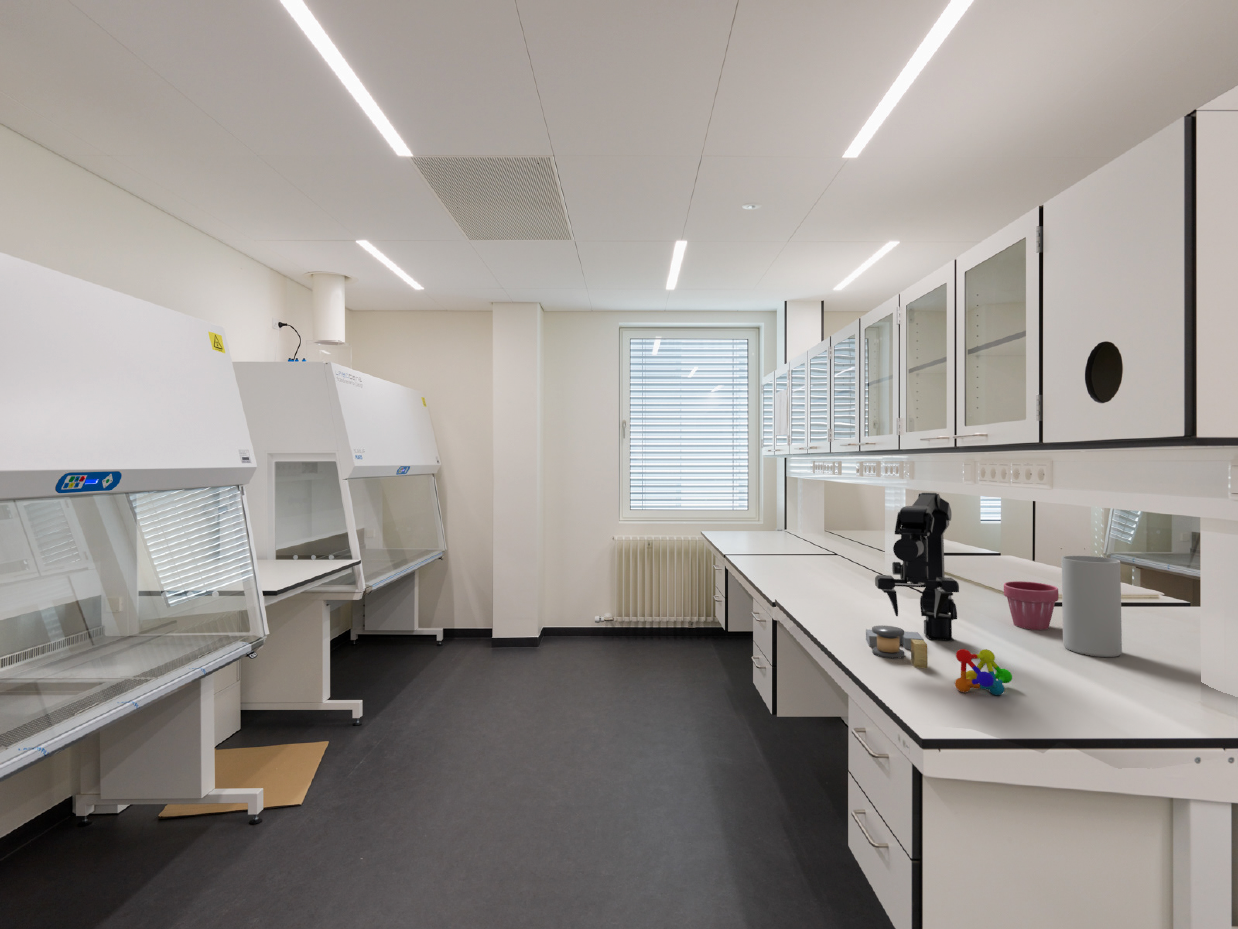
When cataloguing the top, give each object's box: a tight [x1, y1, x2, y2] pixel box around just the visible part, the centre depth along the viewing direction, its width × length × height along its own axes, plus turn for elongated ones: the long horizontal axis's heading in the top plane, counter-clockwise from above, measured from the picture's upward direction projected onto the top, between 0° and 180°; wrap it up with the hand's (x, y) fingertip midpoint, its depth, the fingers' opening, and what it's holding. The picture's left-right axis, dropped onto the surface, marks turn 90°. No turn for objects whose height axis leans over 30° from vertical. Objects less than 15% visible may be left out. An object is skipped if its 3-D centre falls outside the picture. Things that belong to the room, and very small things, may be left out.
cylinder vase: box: [1061, 555, 1123, 658], centre depth 160 cm, size 12×12×25 cm
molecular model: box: [954, 648, 1013, 696], centre depth 134 cm, size 11×10×15 cm
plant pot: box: [1003, 580, 1059, 631], centre depth 185 cm, size 14×14×13 cm
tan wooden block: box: [910, 639, 929, 669], centre depth 151 cm, size 3×4×6 cm
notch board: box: [865, 628, 925, 650], centre depth 168 cm, size 14×7×3 cm, turn 75°
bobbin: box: [871, 625, 906, 660], centre depth 160 cm, size 8×8×7 cm
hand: (916, 617), depth 151 cm, fingers open, 9 cm apart
